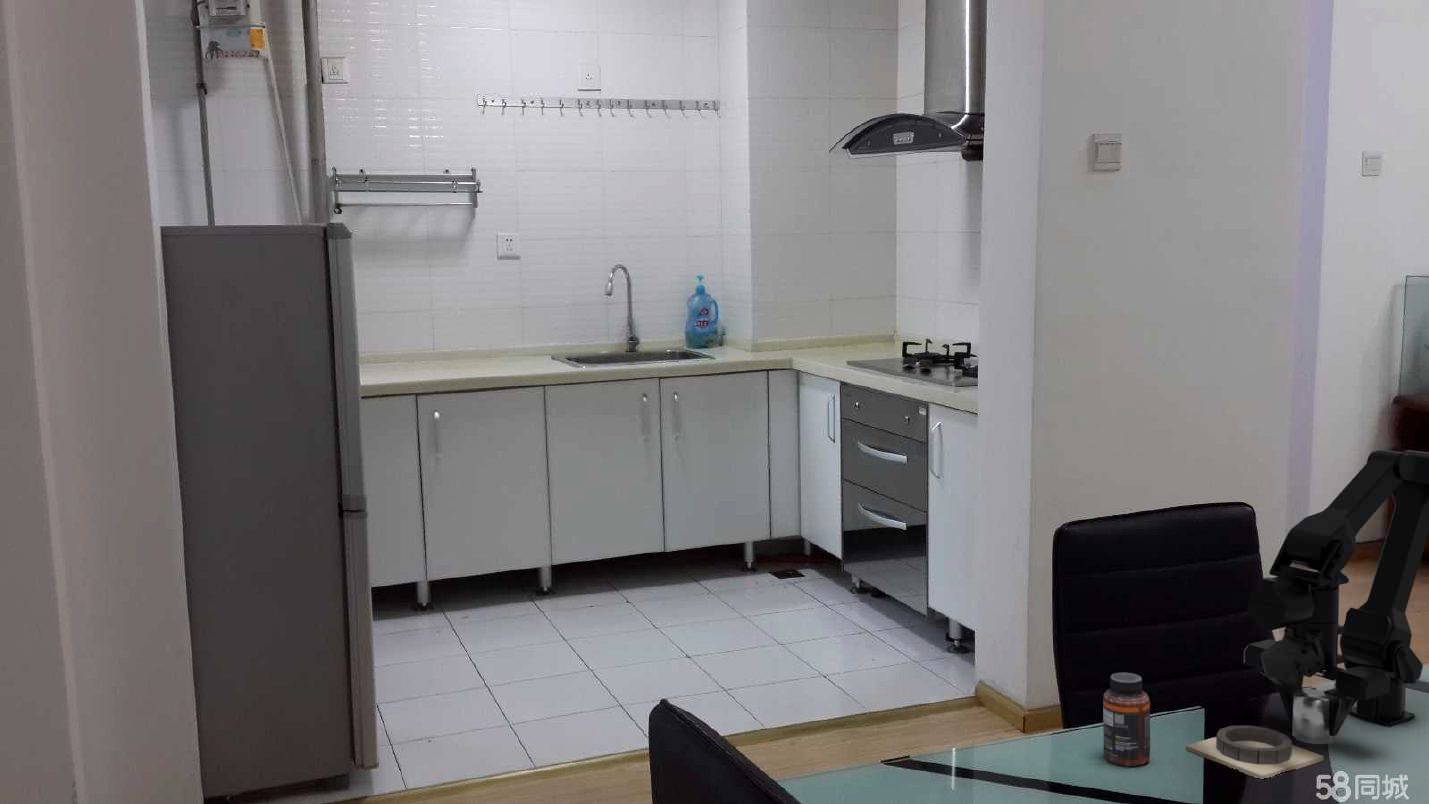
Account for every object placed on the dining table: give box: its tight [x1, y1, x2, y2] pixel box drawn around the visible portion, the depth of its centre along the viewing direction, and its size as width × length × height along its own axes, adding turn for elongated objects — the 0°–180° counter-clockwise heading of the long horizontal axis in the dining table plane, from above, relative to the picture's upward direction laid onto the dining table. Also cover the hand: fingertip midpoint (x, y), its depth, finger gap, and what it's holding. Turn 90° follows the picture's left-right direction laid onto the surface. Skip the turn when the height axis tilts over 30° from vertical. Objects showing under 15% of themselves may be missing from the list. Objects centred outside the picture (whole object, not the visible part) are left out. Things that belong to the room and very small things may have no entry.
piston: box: [1292, 688, 1334, 745], centre depth 172 cm, size 5×5×6 cm
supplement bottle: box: [1102, 672, 1151, 767], centre depth 166 cm, size 6×6×11 cm
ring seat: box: [1185, 725, 1324, 780], centre depth 166 cm, size 12×12×2 cm
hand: (1312, 728), depth 172 cm, fingers open, 6 cm apart
